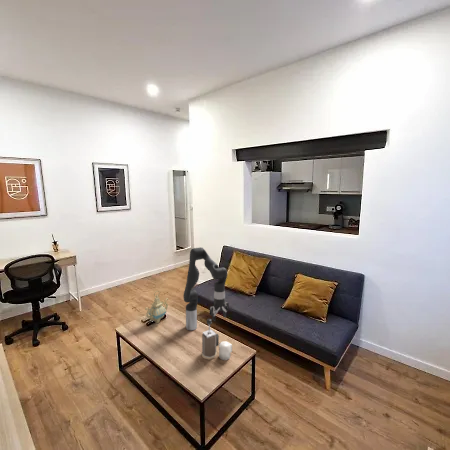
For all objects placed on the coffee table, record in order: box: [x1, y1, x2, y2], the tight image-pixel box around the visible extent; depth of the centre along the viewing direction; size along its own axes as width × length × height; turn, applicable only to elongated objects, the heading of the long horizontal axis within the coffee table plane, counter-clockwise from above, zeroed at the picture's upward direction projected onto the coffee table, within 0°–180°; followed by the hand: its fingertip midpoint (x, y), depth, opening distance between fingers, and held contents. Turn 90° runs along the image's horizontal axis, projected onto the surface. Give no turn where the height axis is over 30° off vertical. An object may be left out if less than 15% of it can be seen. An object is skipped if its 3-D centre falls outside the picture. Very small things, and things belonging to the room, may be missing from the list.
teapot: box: [144, 290, 169, 324], centre depth 218 cm, size 24×12×30 cm, turn 144°
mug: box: [218, 340, 233, 361], centre depth 178 cm, size 8×10×9 cm
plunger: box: [206, 318, 213, 334], centre depth 177 cm, size 4×4×17 cm
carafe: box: [201, 328, 220, 360], centre depth 179 cm, size 11×13×16 cm
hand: (219, 318), depth 172 cm, fingers open, 8 cm apart
